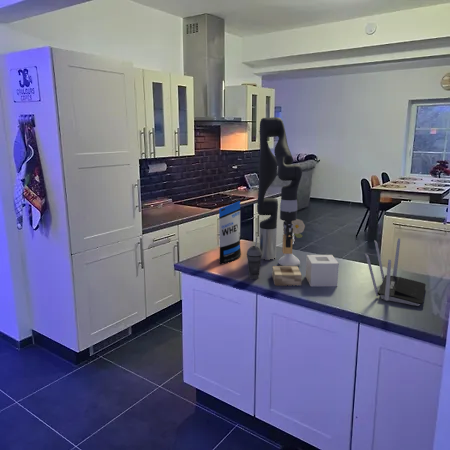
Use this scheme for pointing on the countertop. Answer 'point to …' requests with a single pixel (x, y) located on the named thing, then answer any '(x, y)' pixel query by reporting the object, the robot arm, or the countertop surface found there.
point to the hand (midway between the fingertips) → (287, 245)
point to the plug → (284, 248)
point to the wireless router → (397, 283)
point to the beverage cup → (254, 261)
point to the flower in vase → (297, 228)
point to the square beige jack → (286, 275)
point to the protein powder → (229, 233)
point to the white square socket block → (322, 270)
